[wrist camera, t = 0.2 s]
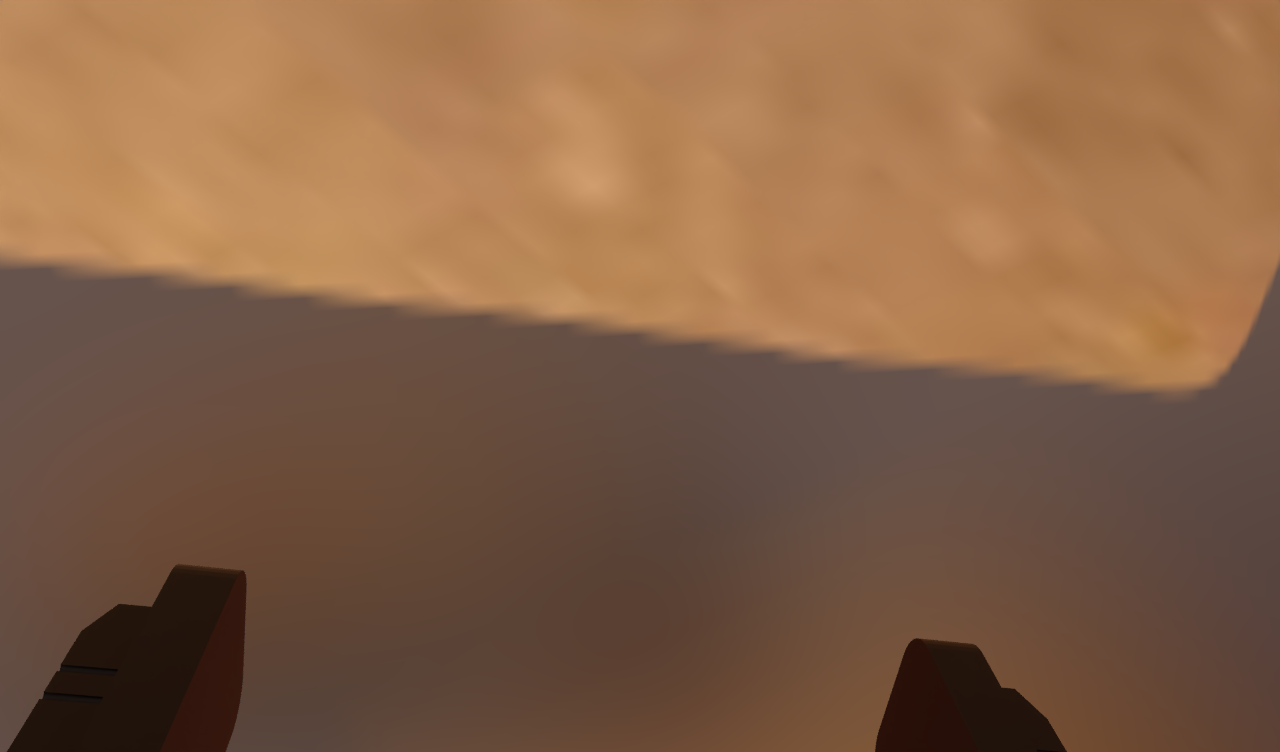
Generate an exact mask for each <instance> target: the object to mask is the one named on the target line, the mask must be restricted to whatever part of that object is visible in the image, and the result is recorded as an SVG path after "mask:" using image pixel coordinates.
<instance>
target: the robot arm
mask: <svg viewBox="0 0 1280 752" xmlns="http://www.w3.org/2000/svg"><path fill="white" fill-rule="evenodd" d="M246 585H247V583H246V574H245V572H244V571H243V570H233V569H223V568H212V567H202V566H192V565H182V564H178V565H176V566H175V567H174V568H173V569H172V571H171V573H170V575H169V576H168V578H167V580H166V582H165V584H164V586H163V587H162V589H161V591H160V593H159V595H158V597H157V598H156V600H155V602H154V604H153V606H152V607H147V606H135V605H126V604H118V605H117V606H115V607H114V608H113V609H111V610H110V611H109V612H107V613H106V614H104V615H103V616H102V617H100V618H99V619H97V620H96V621H95V622H93V623H92V624H91V625H89V626H88V627H86V628H85V629H84V630H82V631H81V633H80V634H79V636H78V638H77V639H76V641H75V642H74V644H73V646H72V647H71V649H70V650H69V652H68V654H67V655H66V657H65V659H64V660H63V662H62V663H61V668H60V671H57V672H56V673H55V675H54V676H53V678H52V680H51V681H50V683H49V685H48V686H47V688H46V689H45V691H44V696H43V699H39V701H38V703H37V704H36V706H35V707H34V709H33V710H32V712H31V714H30V715H29V717H28V719H27V720H26V722H25V724H24V725H23V727H22V728H21V730H20V732H19V733H18V735H17V736H16V738H15V740H14V741H13V743H12V745H11V746H10V748H9V749H8V751H7V752H226V750H227V747H228V744H229V741H230V739H231V736H232V733H233V730H234V726H235V723H236V719H237V714H238V710H239V704H240V698H241V692H242V683H243V666H244V639H245V614H246V612H245V611H246ZM875 752H1067V751H1066V750H1065V748H1064V746H1063V745H1062V743H1061V741H1060V740H1059V738H1058V736H1057V735H1056V733H1055V731H1054V729H1053V728H1052V726H1051V724H1050V723H1049V721H1048V719H1047V718H1046V717H1044V716H1043V715H1042V714H1041V713H1040V712H1039V711H1038V710H1037V709H1036V708H1035V707H1034V706H1033V705H1032V704H1030V703H1029V702H1028V701H1027V700H1026V699H1025V698H1024V697H1023V696H1022V695H1020V693H1018V692H1017V691H1016V690H1015V689H1010V688H1001V686H1000V684H999V682H998V680H997V679H996V677H995V675H994V673H993V672H992V670H991V668H990V666H989V665H988V663H987V661H986V659H985V657H984V655H983V654H982V652H981V651H980V649H979V648H978V647H977V646H976V645H974V644H968V643H958V642H948V641H938V640H927V639H917V638H916V639H914V640H912V641H911V642H910V643H909V644H908V646H907V648H906V650H905V653H904V655H903V658H902V662H901V665H900V668H899V671H898V674H897V677H896V680H895V683H894V687H893V689H892V692H891V695H890V698H889V701H888V704H887V707H886V711H885V714H884V717H883V720H882V723H881V726H880V729H879V732H878V736H877V741H876V749H875Z"/></svg>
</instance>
